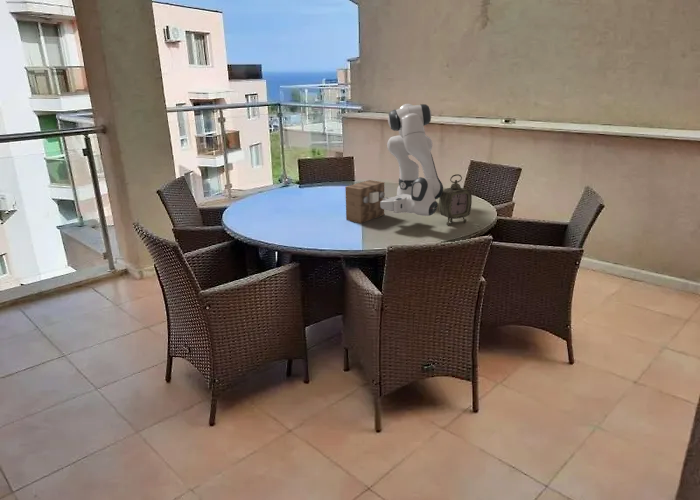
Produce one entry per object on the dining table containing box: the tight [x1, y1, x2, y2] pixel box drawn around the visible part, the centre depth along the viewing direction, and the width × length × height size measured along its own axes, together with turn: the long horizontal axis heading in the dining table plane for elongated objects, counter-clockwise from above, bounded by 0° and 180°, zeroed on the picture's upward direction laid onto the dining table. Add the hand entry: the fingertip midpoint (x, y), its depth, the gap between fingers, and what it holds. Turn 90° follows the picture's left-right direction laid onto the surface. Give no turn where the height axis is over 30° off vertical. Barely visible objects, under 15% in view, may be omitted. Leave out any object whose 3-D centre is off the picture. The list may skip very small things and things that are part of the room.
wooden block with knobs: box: [345, 179, 386, 224], centre depth 257 cm, size 20×12×18 cm, turn 138°
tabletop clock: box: [438, 174, 473, 226], centre depth 244 cm, size 14×9×25 cm, turn 115°
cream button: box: [369, 191, 379, 203], centre depth 254 cm, size 5×4×5 cm
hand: (384, 199), depth 249 cm, fingers closed
